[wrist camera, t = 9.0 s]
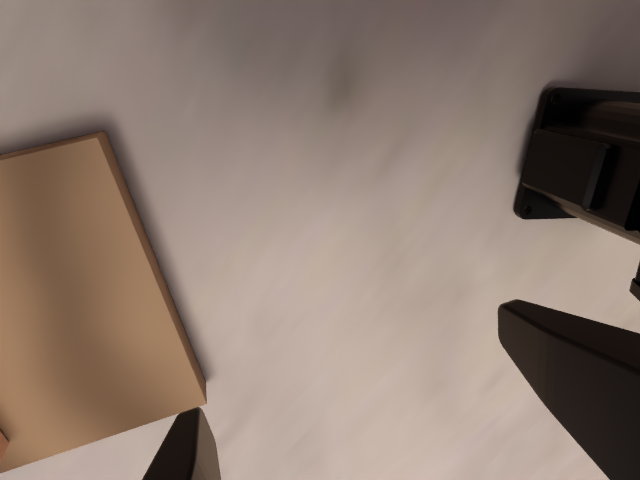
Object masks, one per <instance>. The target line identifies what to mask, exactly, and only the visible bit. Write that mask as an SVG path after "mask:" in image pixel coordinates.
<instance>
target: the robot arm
mask: <svg viewBox="0 0 640 480" xmlns="http://www.w3.org/2000/svg"><path fill="white" fill-rule="evenodd" d="M553 95H555V96H554V100H553V102H551V98H552V96H553ZM526 206H527V209H526V210H525V211H524V209H525V207H526ZM514 212H515V215H517V216H518V217H520V218H522V219H557V218H580V219H582V220H585V221H587V222H589V223H591V224H594V225H596V226H598V227H601V228H603V229H605V230H607V231H610V232H612V233H614V234H617V235H619V236H621V237H623V238H626V239H628V240H630V241H632V242H635V243H637V244H639V245H640V92H628V91H612V90H595V89H578V88H561V87H550V88H548V89H546V90H545V91H544V92H543V94H542V97H541V100H540V104H539V108H538V113H537V117H536V121H535V125H534V129H533V133H532V138H531V142H530V146H529V150H528V154H527V158H526V163H525V167H524V171H523V175H522V179H521V183H520V188H519V192H518V196H517V200H516V204H515V209H514ZM629 291H630V292H631V293H632V294H633V295H634V296H635V297H636V298H637V299H638V300H639V301H640V262H639V266H638V269H637V273H636V277H635V278H633V279H632V282H631V286H630V290H629ZM498 336H499V340H500V342H501V344H502V346H503V348H504V349H505V351H506V352H507V353H508V355H509V356H510V358H511V359H512V360H513V362H514V363H515V365H516V366H517V367H518V369H519V370H520V372H521V373H522V374H523V376H524V377H525V379H526V380H527V381H528V383H529V384H530V386H531V387H532V388H533V390H534V391H535V393H536V394H537V395H538V397H539V398H540V399H541V401H542V402H543V403H544V405H545V406H546V407H547V408H548V409H549V411H550V412H551V413H552V414H553V415H554V416H555V418H556V419H557V420H558V421H559V422H560V423H561V424H562V426H563V427H564V428H565V429H566V430H567V431H568V432H569V434H570V435H571V436H572V437H573V438H574V439H575V440H576V442H577V443H578V444H579V445H580V446H581V447H582V448H583V450H584V451H585V452H586V453H587V454H588V455H589V456H590V458H591V459H592V460H593V461H594V462H595V463H596V464H597V466H598V467H599V468H600V469H601V470H602V471H603V472H604V474H605V475H606V476H607V477H608V478H609V479H610V480H640V334H639V333H636V332H632V331H629V330H625V329H622V328H618V327H615V326H611V325H607V324H604V323H600V322H597V321H593V320H590V319H586V318H583V317H579V316H576V315H572V314H568V313H565V312H561V311H558V310H554V309H551V308H547V307H544V306H540V305H537V304H533V303H530V302H526V301H522V300H518V299H516V300H512V301H509V302H506V303H503V304H501V305H500V306H499V308H498ZM142 480H221V476H220V469H219V462H218V455H217V448H216V443H215V439H214V436H213V434H212V431H211V429H210V426H209V424H208V422H207V419H206V417H205V415H204V412H203V410H202V409H201V408H199V407H196V408H193V409H190V410H187V411H184V412H181V413H180V414H179V415H178V416H177V417H176V419H175V421H174V423H173V425H172V426H171V428H170V430H169V432H168V434H167V435H166V437H165V439H164V441H163V443H162V444H161V446H160V448H159V450H158V452H157V453H156V455H155V457H154V459H153V461H152V463H151V464H150V466H149V468H148V470H147V472H146V473H145V475H144V477H143V479H142Z"/></svg>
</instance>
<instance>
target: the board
mask: <svg viewBox="0 0 640 480" xmlns="http://www.w3.org/2000/svg"><path fill="white" fill-rule="evenodd" d="M205 404H207V398H206V382H205V379H204V377H203V374H202V372H201V369H200V367H199V364H198V362H197V359H196V357H195V354H194V352H193V349H192V347H191V344H190V342H189V340H188V337H187V335H186V332H185V330H184V327H183V325H182V322H181V320H180V317H179V315H178V312H177V310H176V307H175V305H174V302H173V300H172V297H171V295H170V292H169V290H168V287H167V285H166V282H165V280H164V277H163V275H162V272H161V270H160V267H159V265H158V262H157V260H156V257H155V255H154V252H153V250H152V247H151V245H150V242H149V240H148V237H147V235H146V232H145V230H144V227H143V225H142V222H141V220H140V217H139V215H138V212H137V210H136V207H135V205H134V202H133V200H132V197H131V195H130V192H129V190H128V187H127V185H126V182H125V180H124V177H123V175H122V172H121V170H120V167H119V165H118V163H117V160H116V158H115V155H114V153H113V150H112V148H111V145H110V143H109V140H108V138H107V135H106V133H105V131H101V132H97V133H92V134H88V135H84V136H80V137H75V138H71V139H67V140H63V141H58V142H54V143H50V144H46V145H41V146H37V147H33V148H28V149H24V150H20V151H16V152H11V153H7V154H3V155H0V431H1V433H2V434H3V435H4V437H5V438H6V440H7V441H8V442H9V445H8V447H7V449H6V452H5V454H4V456H3V458H2V460H1V462H0V473H3V472H6V471H9V470H12V469H14V468H17V467H20V466H23V465H26V464H29V463H32V462H35V461H38V460H41V459H44V458H47V457H50V456H53V455H56V454H59V453H62V452H65V451H68V450H71V449H74V448H77V447H80V446H83V445H86V444H89V443H92V442H95V441H98V440H101V439H104V438H107V437H110V436H113V435H116V434H119V433H121V432H124V431H127V430H130V429H133V428H136V427H139V426H142V425H145V424H148V423H151V422H154V421H157V420H160V419H163V418H166V417H169V416H172V415H175V414H178V413H181V412H184V411H187V410H190V409H193V408H196V407H199V406H202V405H205Z"/></svg>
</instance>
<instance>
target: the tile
mask: <svg viewBox="0 0 640 480" xmlns="http://www.w3.org/2000/svg"><path fill="white" fill-rule="evenodd" d="M8 445H9V442H8V441H7V440H6V438H5V437H4V435H3V434H2V433H1V431H0V462H1V460H2V458H3V456H4V454H5V452H6V449H7V447H8Z"/></svg>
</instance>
